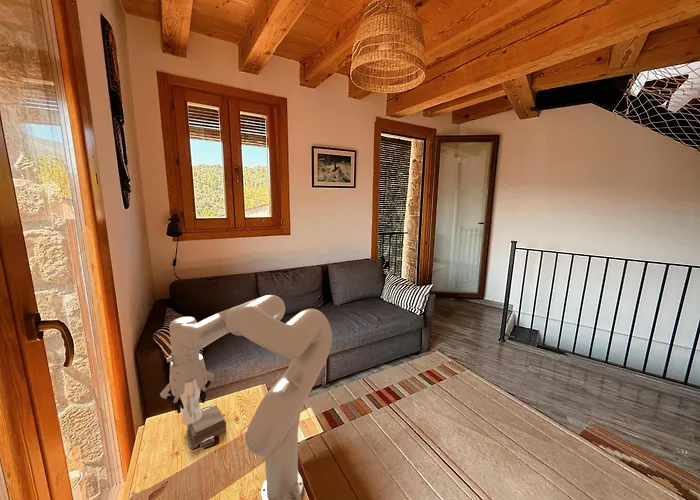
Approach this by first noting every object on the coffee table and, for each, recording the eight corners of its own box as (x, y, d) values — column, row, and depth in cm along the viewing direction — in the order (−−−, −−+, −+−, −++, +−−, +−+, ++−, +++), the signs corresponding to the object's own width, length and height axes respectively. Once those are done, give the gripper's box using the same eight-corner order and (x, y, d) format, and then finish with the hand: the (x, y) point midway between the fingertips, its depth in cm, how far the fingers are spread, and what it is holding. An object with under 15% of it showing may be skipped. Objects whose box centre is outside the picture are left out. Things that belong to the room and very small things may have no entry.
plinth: (226, 431, 110) (225, 419, 109) (195, 446, 103) (194, 434, 102) (217, 415, 118) (216, 404, 117) (187, 428, 111) (186, 417, 110)
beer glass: (177, 417, 95) (173, 376, 92) (200, 407, 100) (196, 368, 97) (182, 429, 90) (178, 386, 87) (206, 418, 94) (202, 377, 92)
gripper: (155, 371, 83) (161, 425, 85) (218, 351, 94) (221, 400, 97) (151, 360, 88) (157, 412, 91) (211, 343, 99) (214, 389, 102)
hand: (190, 405), depth 94 cm, fingers closed on beer glass, 6 cm apart
